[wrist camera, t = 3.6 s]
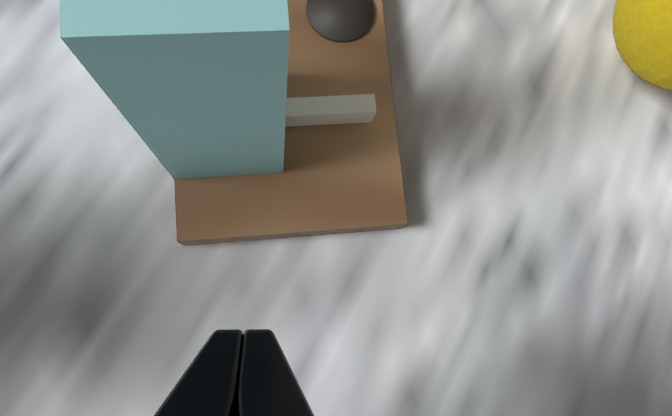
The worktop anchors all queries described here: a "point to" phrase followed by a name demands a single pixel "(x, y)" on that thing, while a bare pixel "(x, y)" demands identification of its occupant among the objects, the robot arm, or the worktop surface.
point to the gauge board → (315, 143)
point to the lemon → (645, 38)
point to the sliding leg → (201, 79)
